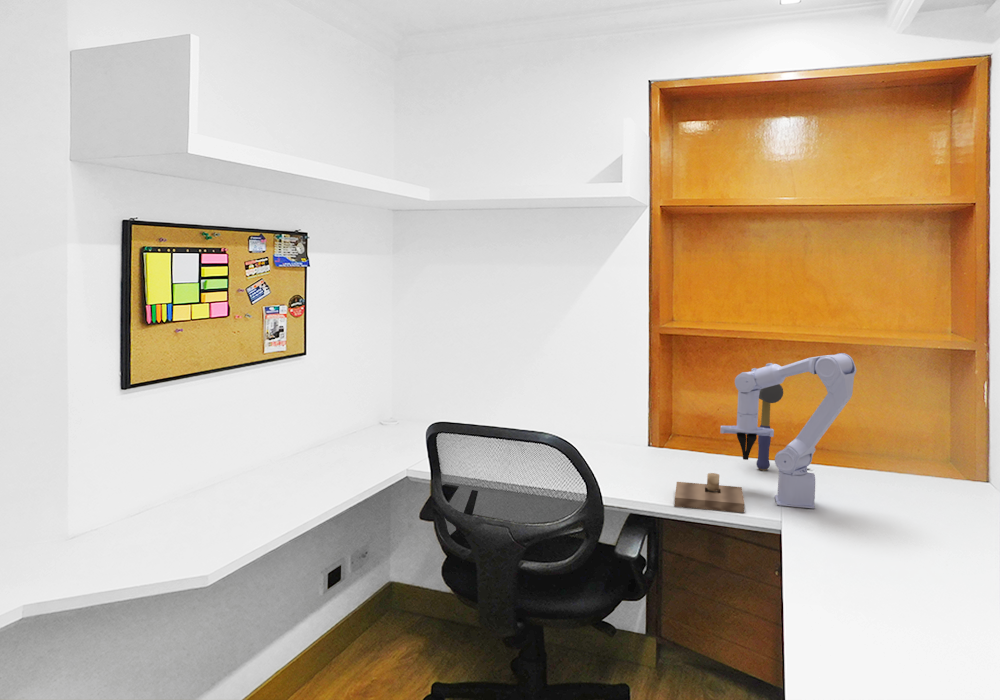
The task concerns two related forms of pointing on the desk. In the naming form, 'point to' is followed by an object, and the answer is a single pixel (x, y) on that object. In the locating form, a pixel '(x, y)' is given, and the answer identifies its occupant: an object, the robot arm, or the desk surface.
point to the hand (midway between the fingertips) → (745, 458)
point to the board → (709, 497)
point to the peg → (713, 482)
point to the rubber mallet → (766, 423)
